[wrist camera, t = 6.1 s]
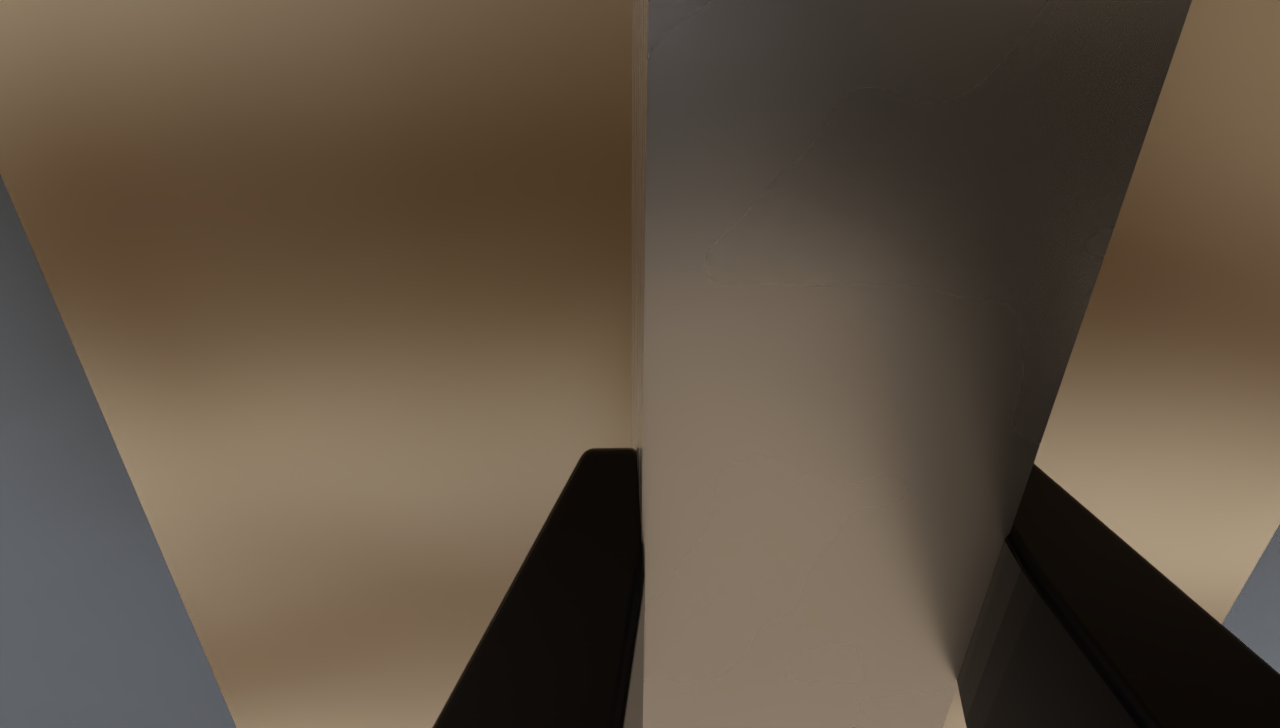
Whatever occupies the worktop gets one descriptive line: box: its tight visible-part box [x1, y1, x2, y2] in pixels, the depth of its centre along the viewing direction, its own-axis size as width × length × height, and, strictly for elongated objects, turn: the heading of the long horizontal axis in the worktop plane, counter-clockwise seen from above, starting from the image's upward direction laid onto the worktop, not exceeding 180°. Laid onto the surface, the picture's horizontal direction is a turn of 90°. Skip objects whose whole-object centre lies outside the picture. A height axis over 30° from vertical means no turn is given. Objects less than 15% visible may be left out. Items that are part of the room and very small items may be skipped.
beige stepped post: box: [631, 0, 1192, 728], centre depth 8 cm, size 16×4×2 cm, turn 0°
